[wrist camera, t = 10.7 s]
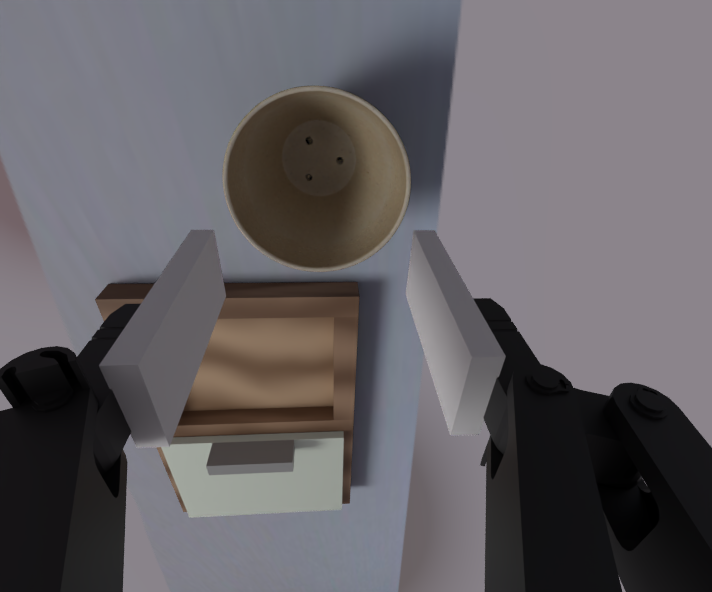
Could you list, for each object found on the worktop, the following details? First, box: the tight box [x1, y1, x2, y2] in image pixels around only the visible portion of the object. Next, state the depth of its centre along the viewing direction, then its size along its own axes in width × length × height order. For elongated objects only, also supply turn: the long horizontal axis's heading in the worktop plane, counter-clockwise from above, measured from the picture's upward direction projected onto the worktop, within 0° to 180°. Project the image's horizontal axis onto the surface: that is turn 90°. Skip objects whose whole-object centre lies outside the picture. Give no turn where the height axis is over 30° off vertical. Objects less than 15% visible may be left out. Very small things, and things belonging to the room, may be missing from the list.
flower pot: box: [223, 86, 411, 272], centre depth 24 cm, size 10×10×7 cm
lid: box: [161, 431, 344, 518], centre depth 42 cm, size 14×18×3 cm
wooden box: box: [95, 282, 359, 512], centre depth 39 cm, size 31×20×2 cm, turn 178°
